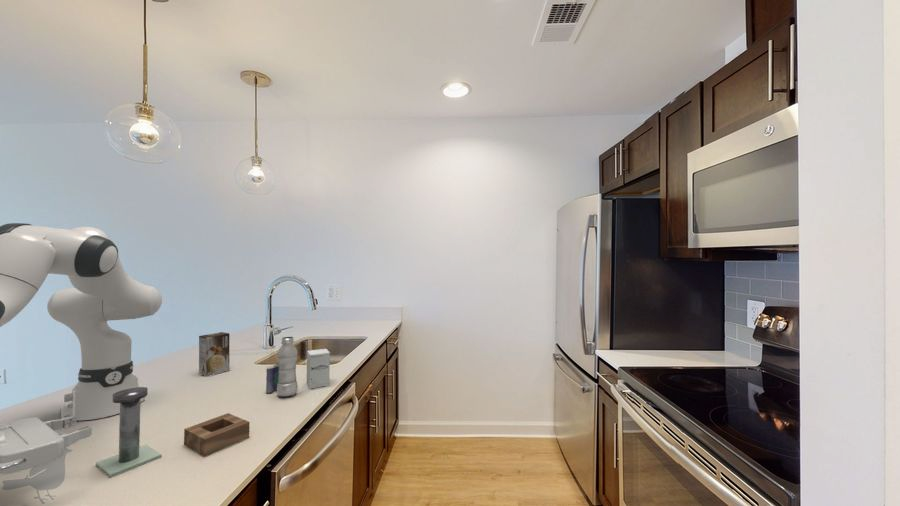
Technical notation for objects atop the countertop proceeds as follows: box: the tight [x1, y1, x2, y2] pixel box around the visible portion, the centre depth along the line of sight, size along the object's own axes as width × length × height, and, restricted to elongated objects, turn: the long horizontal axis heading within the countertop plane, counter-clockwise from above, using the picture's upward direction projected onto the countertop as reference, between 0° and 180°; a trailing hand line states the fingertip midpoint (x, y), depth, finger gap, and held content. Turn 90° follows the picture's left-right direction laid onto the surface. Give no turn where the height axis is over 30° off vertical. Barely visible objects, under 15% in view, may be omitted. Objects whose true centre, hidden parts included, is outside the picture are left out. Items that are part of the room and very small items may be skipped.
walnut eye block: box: [183, 412, 251, 457], centre depth 89 cm, size 10×10×4 cm
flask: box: [265, 359, 279, 394], centre depth 125 cm, size 9×3×11 cm, turn 151°
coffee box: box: [198, 331, 230, 377], centre depth 144 cm, size 9×6×16 cm
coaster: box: [95, 443, 162, 478], centre depth 80 cm, size 9×9×1 cm
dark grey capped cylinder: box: [112, 386, 149, 463], centre depth 80 cm, size 6×6×15 cm
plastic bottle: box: [276, 336, 299, 398], centre depth 119 cm, size 6×7×20 cm
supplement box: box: [306, 348, 331, 390], centre depth 130 cm, size 7×7×13 cm
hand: (82, 425), depth 73 cm, fingers open, 8 cm apart
